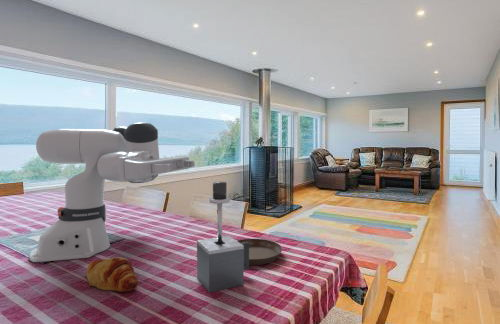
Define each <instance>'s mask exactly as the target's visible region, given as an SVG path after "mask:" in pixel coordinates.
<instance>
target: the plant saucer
mask: <svg viewBox="0 0 500 324" xmlns="http://www.w3.org/2000/svg"><path fill="white" fill-rule="evenodd" d="M236 241H238V242H239V243H242V242H248V243H249V266H259V265H260V266H261V265H267V264H270V263H272V262H274V261H275V260H277V259H278V258H279V256H280V255H281V253H282V252H283V247H282V245H281V244H280V243H277V242H276V241H273V240H269V239H266V238H265V239H263V238H242V239H237V240H236Z"/></svg>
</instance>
